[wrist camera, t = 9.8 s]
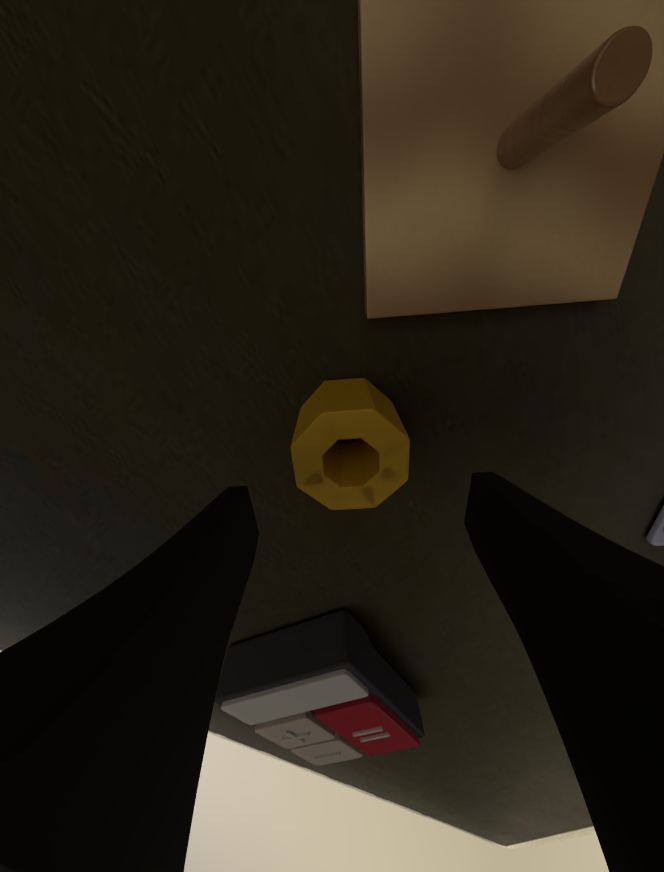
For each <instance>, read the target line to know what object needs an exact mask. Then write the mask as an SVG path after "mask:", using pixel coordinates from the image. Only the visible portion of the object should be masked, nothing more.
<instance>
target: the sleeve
mask: <svg viewBox="0 0 664 872" xmlns="http://www.w3.org/2000/svg"><path fill="white" fill-rule="evenodd" d="M357 438H360V439H359V440H357V441H348V442H339V441H337V440H341V439H357ZM409 450H410V439H409V437H408V435H407V433H406V430H405V428H404V426H403V424H402V422H401V420H400V418H399V416H398V414H397V412H396V409H395V407H394V405H393V403H392V401H391V400H390V399H388V398H387V397H386V396H385V395H384V394H383V393H382V392H380V391H379V390H378V389H377V388H376V387H375V386H374V385H372V384H371V383H370V382H369V381H368V380H367V379H366V378H354V379H341V380H327V381H324V382H323V383H322V384H321V385H320V386H319V387H318V389H317V390H316V391H315V392H314V393H313V394H312V395H311V397H310V398H309V399H308V400H307V401H306V402H305V404H304V405H303V406H302V407H301V409H300V413H299V417H298V421H297V424H296V428H295V432H294V436H293V440H292V444H291V454H292V460H293V467H294V473H295V479H296V485H297V487H298V488H300V489H301V490H302V491H304V492H305V493H307V494H308V495H310V496H311V497H313V498H314V499H316V500H317V501H319V502H320V503H322V504H323V505H325V506H326V507H328V508H329V509H332V510H343V509H361V508H375V507H377V506H378V505H379V504H380V503H382V502H383V501H384V500H385V499H386V498H387V497H389V496H390V495H391V494H392V493H393V492H395V491H396V490H397V489H398V488H399V487H401V486H402V485H403V484H404V483H405V482H406V481H407V479H408V471H409Z"/></svg>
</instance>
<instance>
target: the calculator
mask: <svg viewBox="0 0 664 872" xmlns="http://www.w3.org/2000/svg"><path fill="white" fill-rule="evenodd" d="M215 703H217V704H218V705H220V706H221V709H222V710H223V711H225V712H227V713H229V714H230V715H232V716H234V717H236V718H237V719H239V720H241V721H243V722H245V723H246V724H248V725H255V732H256V733H258V734H260V735H261V736H263V737H265V738H267V739H269V740H270V741H272V742H274V743H276V744H278V745H279V746H281V747H283V748H285V749H290V748H291V752H292V753H294V754H296V755H298V756H299V757H301V758H303V759H305V760H307V761H308V762H310V763H312V764H314V765H316V766H321V765H326V764H331V763H336V762H341V761H346V760H351V759H356V758H360V757H362V751H364V752H365V753H367V754H368V755H375V754H380V753H385V752H390V751H395V750H400V749H405V748H410V747H415V746H419V739H418V738H422V737H424V735H425V734H424V729H423V724H422V719H421V715H420V710H419V705H418V700H417V696H416V694H415V693H414V692H413V690H412V689H411V688H410V687H409V686H408V685H407V684H406V683H405V682H404V681H403V679H402V678H401V677H400V676H399V675H398V674H397V673H396V672H395V671H394V670H393V668H392V667H391V666H390V665H389V664H388V663H387V662H386V661H385V660H384V659H383V657H382V656H381V655H380V654H379V653H378V652H377V651H376V650H375V649H374V647H373V646H372V644H371V641H370V639H369V637H368V635H367V633H366V631H365V630H364V629H363V628H362V627H361V626H360V625H359V623H358V622H357V621H356V620H355V619H354V618H353V617H352V616H351V614H350V613H349V612H348V611H345V610H341V611H338V612H334V613H331V614H328V615H325V616H322V617H319V618H316V619H313V620H310V621H307V622H304V623H300V624H297V625H294V626H291V627H288V628H285V629H282V630H279V631H276V632H273V633H270V634H267V635H263V636H260V637H257V638H254V639H251V640H248V641H245V642H242V643H239V644H236V645H233V646H230V647H228V649H227V652H226V656H225V660H224V664H223V668H222V672H221V676H220V680H219V684H218V688H217V692H216V696H215Z"/></svg>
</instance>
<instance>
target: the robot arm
mask: <svg viewBox="0 0 664 872" xmlns="http://www.w3.org/2000/svg"><path fill="white" fill-rule="evenodd" d="M464 523H465V526H466V529H467V531H468V534H469V537H470V540H471V542H472V545H473V547H474V550H475V552H476V554H477V556H478V558H479V560H480V562H481V564H482V566H483V568H484V570H485V571H486V573H487V575H488V577H489V579H490V581H491V583H492V585H493V587H494V588H495V590H496V592H497V594H498V596H499V598H500V600H501V601H502V603H503V605H504V607H505V609H506V611H507V613H508V615H509V616H510V618H511V620H512V622H513V624H514V626H515V628H516V630H517V632H518V634H519V636H520V638H521V640H522V642H523V645H524V647H525V649H526V652H527V654H528V656H529V659H530V661H531V663H532V666H533V668H534V670H535V673H536V675H537V678H538V680H539V682H540V685H541V687H542V690H543V692H544V695H545V697H546V700H547V702H548V705H549V707H550V710H551V712H552V715H553V717H554V720H555V722H556V725H557V727H558V730H559V732H560V735H561V738H562V740H563V743H564V746H565V748H566V751H567V754H568V756H569V759H570V762H571V764H572V767H573V770H574V772H575V775H576V778H577V780H578V783H579V786H580V788H581V791H582V794H583V797H584V800H585V803H586V805H587V808H588V811H589V814H590V817H591V820H592V823H593V825H594V828H595V831H596V834H597V837H598V839H599V843H600V845H601V848H602V851H603V854H604V857H605V860H606V863H607V866H608V869H609V872H664V567H663V566H661V565H659V564H657V563H655V562H653V561H651V560H649V559H647V558H645V557H643V556H641V555H638V554H636V553H634V552H632V551H630V550H628V549H626V548H624V547H622V546H620V545H618V544H616V543H614V542H612V541H610V540H608V539H607V538H605V537H603V536H601V535H599V534H597V533H596V532H594V531H592V530H590V529H588V528H586V527H585V526H583V525H581V524H579V523H577V522H576V521H574V520H572V519H570V518H569V517H567V516H565V515H563V514H562V513H560V512H558V511H557V510H555V509H553V508H552V507H550V506H548V505H547V504H545V503H543V502H542V501H540V500H538V499H537V498H535V497H534V496H532V495H530V494H529V493H527V492H525V491H524V490H522V489H521V488H519V487H517V486H516V485H514V484H512V483H511V482H509V481H507V480H506V479H504V478H502V477H501V476H499V475H497V474H495V473H493V472H483V473H472V479H471V485H470V491H469V497H468V503H467V509H466V515H465V521H464ZM258 535H259V531H258V527H257V523H256V519H255V515H254V511H253V507H252V503H251V499H250V495H249V491H248V488H247V486H234V487H228V488H227V489H225V490H224V491H223V492H222V493H221V494H220V495H219V496H217V497H216V498H215V499H214V500H213V501H212V502H211V503H210V504H209V505H207V506H206V507H205V508H204V509H203V510H202V511H201V512H200V513H199V514H198V515H196V516H195V517H194V518H193V519H192V520H191V521H190V522H189V523H187V524H186V525H185V526H184V527H183V528H182V529H181V530H180V531H178V532H177V533H176V534H175V535H174V536H172V537H171V538H170V539H169V540H167V541H166V542H165V543H164V544H163V545H161V546H160V547H159V548H158V549H157V550H155V551H154V552H153V553H152V554H151V555H149V556H148V557H147V558H145V559H144V560H143V561H142V562H140V563H139V564H138V565H136V566H135V567H134V568H132V569H131V570H130V571H128V572H127V573H125V574H124V575H123V576H121V577H120V578H118V579H117V580H116V581H114V582H113V583H111V584H110V585H109V586H107V587H106V588H104V589H103V590H101V591H100V592H98V593H97V594H95V595H94V596H92V597H91V598H89V599H87V600H86V601H84V602H83V603H81V604H80V605H78V606H77V607H75V608H73V609H72V610H70V611H69V612H67V613H66V614H64V615H63V616H61V617H59V618H58V619H56V620H55V621H53V622H52V623H50V624H48V625H47V626H45V627H43V628H42V629H40V630H38V631H36V632H35V633H33V634H31V635H30V636H28V637H26V638H25V639H23V640H21V641H19V642H18V643H16V644H14V645H12V646H11V647H9V648H7V649H5V650H4V651H2V652H0V872H184V865H185V859H186V852H187V847H188V840H189V834H190V828H191V823H192V816H193V811H194V805H195V799H196V793H197V787H198V782H199V777H200V771H201V766H202V761H203V755H204V749H205V745H206V739H207V734H208V729H209V724H210V720H211V715H212V710H213V705H214V700H215V696H216V691H217V686H218V682H219V678H220V673H221V669H222V664H223V660H224V656H225V651H226V648H227V644H228V641H229V637H230V634H231V630H232V627H233V624H234V621H235V618H236V615H237V612H238V609H239V606H240V603H241V600H242V597H243V593H244V590H245V587H246V584H247V581H248V578H249V575H250V571H251V568H252V565H253V561H254V557H255V552H256V546H257V541H258ZM646 540H647V541H648V542H649V543H650V544H652V545H654V546H663V545H664V505H663V507H662V509H661V511H660V513H659V514H658V516H657V518H656V520H655V522H654V524H653V525H652V527H651V529H650V531H649V533H648V535H647V537H646Z"/></svg>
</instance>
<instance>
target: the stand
mask: <svg viewBox="0 0 664 872" xmlns="http://www.w3.org/2000/svg"><path fill="white" fill-rule="evenodd" d="M358 39H359V80H360V121H361V161H362V202H363V243H364V284H365V316H366V318H367V319H375V318H387V317H399V316H412V315H424V314H436V313H449V312H461V311H474V310H486V309H498V308H511V307H523V306H535V305H548V304H560V303H572V302H585V301H597V300H609V299H616V298H617V296H618V293H619V290H620V287H621V284H622V281H623V278H624V275H625V272H626V269H627V265H628V262H629V259H630V256H631V253H632V250H633V247H634V244H635V241H636V238H637V235H638V231H639V228H640V225H641V222H642V219H643V216H644V213H645V210H646V207H647V204H648V201H649V198H650V194H651V191H652V188H653V185H654V182H655V179H656V176H657V173H658V170H659V167H660V164H661V160H662V157H663V154H664V0H358Z"/></svg>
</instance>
